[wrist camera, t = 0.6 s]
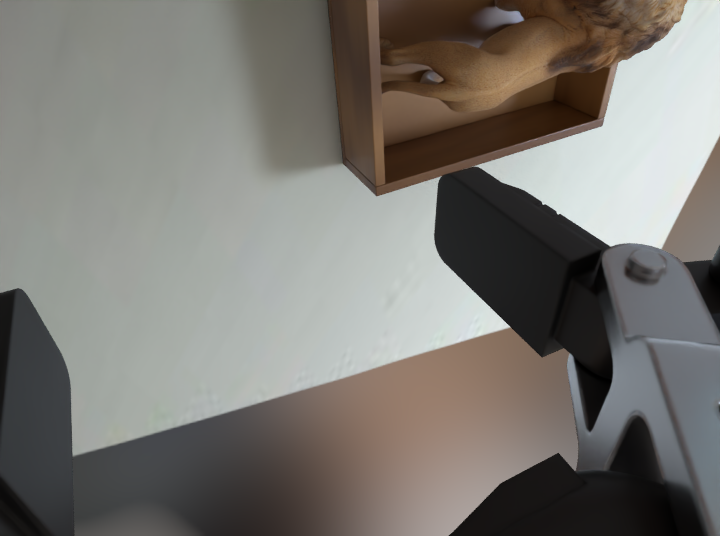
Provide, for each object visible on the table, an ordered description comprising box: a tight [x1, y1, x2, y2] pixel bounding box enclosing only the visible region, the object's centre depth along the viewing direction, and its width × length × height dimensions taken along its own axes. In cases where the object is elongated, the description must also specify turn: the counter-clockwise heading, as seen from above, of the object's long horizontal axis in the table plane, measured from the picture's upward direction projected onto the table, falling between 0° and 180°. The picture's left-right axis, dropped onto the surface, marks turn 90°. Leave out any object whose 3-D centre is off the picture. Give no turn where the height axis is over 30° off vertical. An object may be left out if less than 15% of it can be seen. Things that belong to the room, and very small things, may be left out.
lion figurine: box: [380, 0, 687, 113], centre depth 25 cm, size 15×5×9 cm, turn 114°
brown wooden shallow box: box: [328, 0, 618, 196], centre depth 27 cm, size 13×16×4 cm
